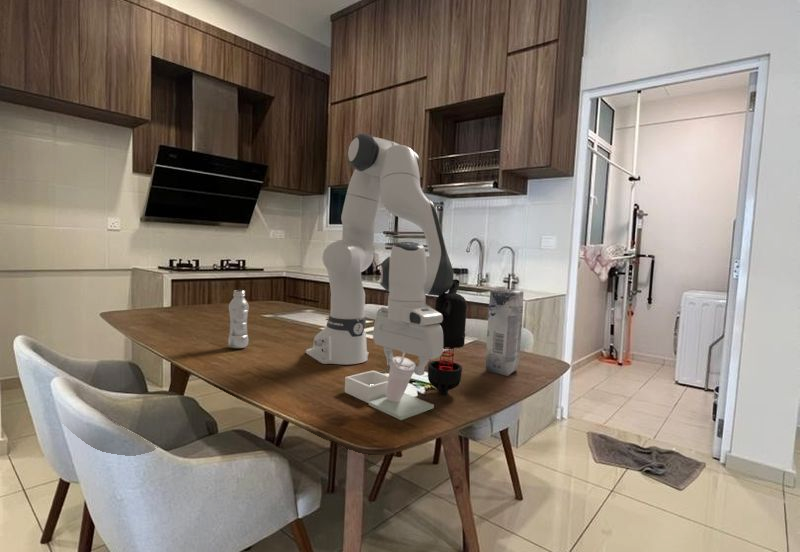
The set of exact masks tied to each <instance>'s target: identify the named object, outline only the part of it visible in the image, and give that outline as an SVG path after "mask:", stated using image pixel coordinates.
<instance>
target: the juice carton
mask: <svg viewBox="0 0 800 552" xmlns="http://www.w3.org/2000/svg"><path fill="white" fill-rule="evenodd" d="M488 302H489V303H488V314H487V315H488V317H487V333H486V344H485V345H486V346H485V348H486V349H485V370H486V371H487V372H489V373H493V374H498V375H501V376H506V377H508V376H510V375H511V374H512V373H514V372H516V371H518V370H517V369H518V366H519V362H520V356H521V355H520V354H521V343H522V341H521V340H522V329H523V328H522V327H523V315H524V291H522V290H516V289H508V288H507V286H506V285H498V286H496V290H491V291H490V293H489V301H488Z"/></svg>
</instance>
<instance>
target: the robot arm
mask: <svg viewBox="0 0 800 552" xmlns="http://www.w3.org/2000/svg"><path fill="white" fill-rule="evenodd" d="M347 160H348V164H349V165H350V167H352V168H353V169H354V171H353V173H352V175H351V178H350V181H349V183H348V187H347V190H346V195H345V199H344V203H343V207H342V212H341V217H340V219H341V224H342V225H341V226H342V237H341V239H339V240H336V241H334V242H332V243H330V244H329V245H327V246H326V248H325V249H324V250H323V253H322V261H323V265H324V267H325V269H326V271H327V276H328V277H327V278H328V281H329V287H330V315H329V316H325V321H326V322H327V323H326V325H325V326H326V327H324V328H323V329H322V330H321V331H319V332H318V333H317V334H316V335H315V336H314V337H313V344H312V345H313V346H312V347H310V348H308V349H306V350H305V353H306V354H307V355H308V356H310V357H311V358H313V359H314V360H316V361H318V362H319V363H321V364H324V365H328V364H330V365H331V364H333V365H357V364H361V363H365V362H367V361H368V360H369V359H368V356H369V353H370V352H369V351H368V347H367V332H366V331H365V329H366V324H367V323H366V321H367V320H366V316H365V312H366V311H365V307H366V292H365V289H364V285H363V279H362V273H363V272H365V271H366V270H367V269H368V268H369V267H370V266H371V265H372V263H373V261H374V251H373V250H374V241H375V238H374V237H375V228H376V224H377V223H376V222H377V218H378V215H379V214H378V213H379V210H380V206H381V203H382V205H383V206H384V208H385V209H386V210H387V211H388V212H389V213H390V214H392V215H394V216H395V217H398V218H399V219H402V220H406V221H409V222H410V223H413V224H414V225H416V226H418V227H419V228H420V229H421V231H422V232H423V234H424V237H425V243H426V245H427V246H426V247H427V251H428V255H429V256H427V254H426V249H425V246H424V245H423V244H421V243H419V242H413V241H399V242H396V243H394V244H392V246H391V251H390V252H391V253H390V256H387V258H385V259H384V260H383V261H382V262H381V263H380V269H381V276H380V277H381V278H380V284H379V285H380V286H381V287H382V288H383V289H384V290H386V291H387V292H389V293H388V297H387V307H384V306H383V307H380V308H379V309H378V310H377V311H376V314H375V316H376V317H375V319H374V324H373V330H372V331H373V333H372V339H373V340H372V341H373V342H374V343H373V344H375V345H377V346H381V347H383V353H384V355H385V358H386V365H387V366H389V367H390V364H389V363H390V360H391V359H392V358H393V357H395V356H394V352H393V351H394V350H395V351H399V352H402V353H403V352H405V354H410V355H413V356H417V361H418V362H419V363H418V365H416V367H415V372H414V374H415V375H417V376H424V374H425V367H426V366H427V365H428V364H429V361H430V360H436V359H440V356H441V355H442V354H444V353H443V352H444V349H443V330H442V327H441V325H440V324H438V323H441V322H442V321H443V316H442V314H441V313H439V312H438V311H436V310H435V308H432V306H430V305H428V304H427V297H426V295H428V296H437V297H438V296H441V295H443V294H444V293H448V292H449V289H450V288H451V287H452V285H453V279H455V278H454V276H455V275H454V269H453V264H452V263H451V259H450V257H449V255H448V251H447V248H446V243H445V240H444V236H443V232H442V227H441V223H440V219H439V216H438V212H437V208H436V206H435V204H434V203H433V201H432V200H430V199H428V197H426V195H425V193H424V191H423V190H422V188H421V178H420V177H421V176H420V169H419V168H420V157H419V154H417V153H416V152H415V150H413V149H412V148H411V147H409V146H407V145H403V144H399V143H398V142H395V141H392V140H387V139H384V138H380V137H376V136H373V135H372V134H367V133H359V134H357V135H356V136H354V137H353V138H352V140H351V142H350V145H349V147H348V151H347ZM441 357H442V356H441Z"/></svg>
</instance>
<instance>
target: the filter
mask: <svg viewBox="0 0 800 552" xmlns="http://www.w3.org/2000/svg"><path fill="white" fill-rule="evenodd" d="M459 287H460V280H459V279H457V278H456V279H455V278H454V279H453V285H452V287H451V288H450V289H449V290H448V291H447V292H446V293H444V294H443V295H441V296H437V298H436V299H435V302H434V303H435V305H434V310H436V311H438V312H439V313H441V314H442V316H443V321H442V322H441V323H438V324H440V325H441V327H442V330H443V353H442V355H441V356H440V357H439V360H432V361H430V362H428V363H427V381H429V384H430V385H431V386H433V387H434V388H436V389H437V390H438V394H439V395H441V396H446V395H448V394H449V391H450V390H453V389H455V388H456V387H458V386H459V385H460V383H461V378H462V373H463V372H462V371H463V366H462V364H460V363H457V362H454V356H455V353H454V349H460V348H461V349H462V348H463V347H464V346H465V340H466V324H467V323H466V321H467V310H468V309H467V308H468V303H467V299H466V298H465V297H464V296H462V295H461V294H460V293H457V292H458V289H459ZM445 350H449V351H445ZM451 350H452V352H451ZM446 354H448V355H446ZM442 357H443V358H442ZM447 358H448V359H447ZM450 358H451V359H450Z"/></svg>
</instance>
